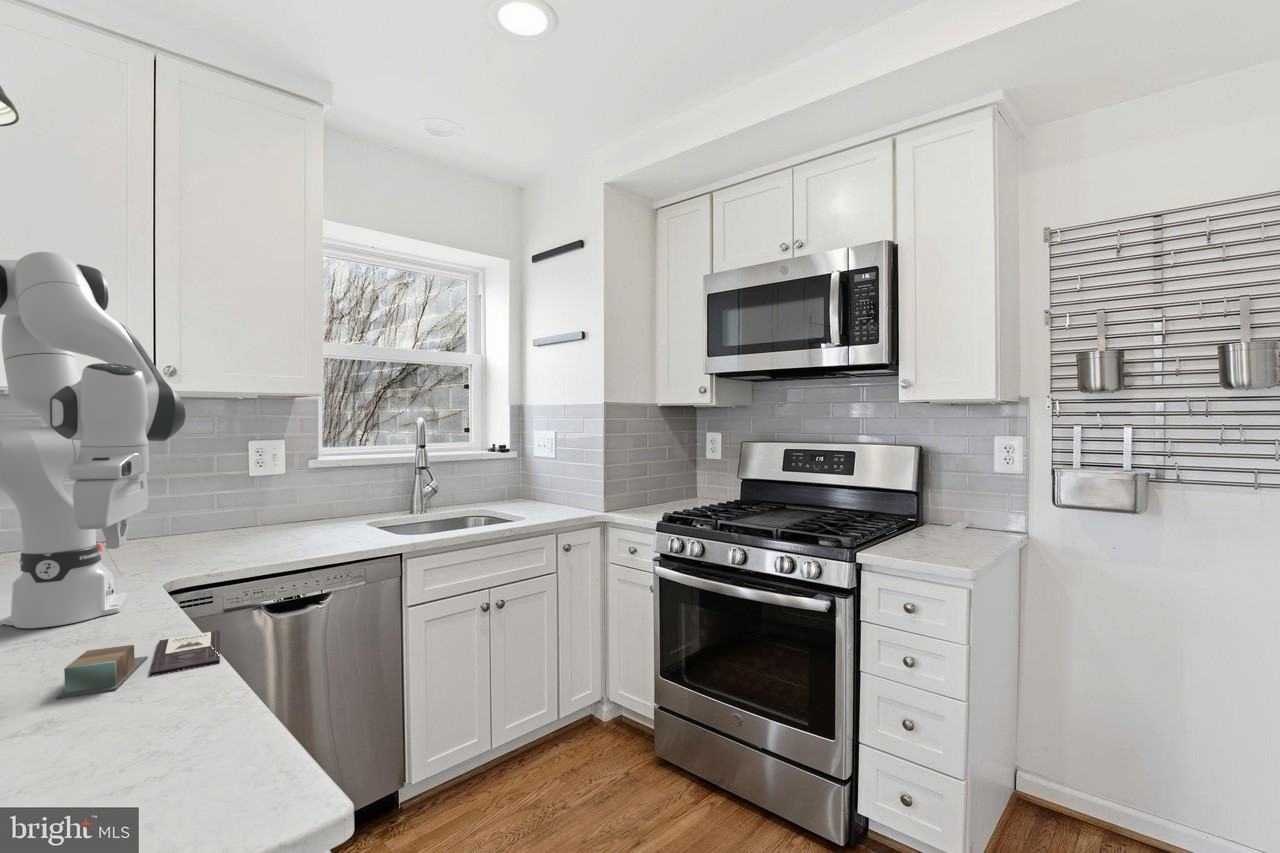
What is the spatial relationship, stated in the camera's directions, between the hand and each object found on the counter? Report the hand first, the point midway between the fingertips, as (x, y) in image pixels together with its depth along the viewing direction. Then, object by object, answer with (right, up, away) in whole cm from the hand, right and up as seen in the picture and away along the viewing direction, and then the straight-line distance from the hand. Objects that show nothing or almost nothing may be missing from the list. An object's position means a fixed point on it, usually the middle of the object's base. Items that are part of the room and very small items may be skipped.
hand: (115, 547), depth 107 cm
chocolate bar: (+9, -19, +4) cm, 22 cm away
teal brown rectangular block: (+3, -17, -4) cm, 18 cm away
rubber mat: (+3, -19, -6) cm, 20 cm away
